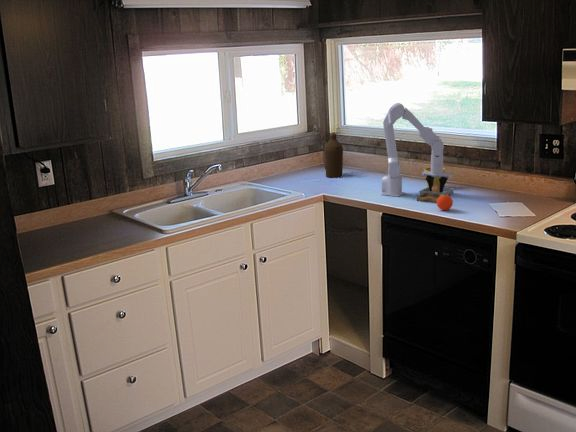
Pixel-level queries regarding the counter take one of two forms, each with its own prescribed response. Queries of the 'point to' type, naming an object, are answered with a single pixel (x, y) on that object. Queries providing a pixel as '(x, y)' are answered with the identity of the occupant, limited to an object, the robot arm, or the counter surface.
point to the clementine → (444, 202)
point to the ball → (436, 188)
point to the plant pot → (436, 179)
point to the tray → (428, 197)
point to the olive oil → (333, 157)
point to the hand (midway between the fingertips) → (436, 191)
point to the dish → (445, 192)
